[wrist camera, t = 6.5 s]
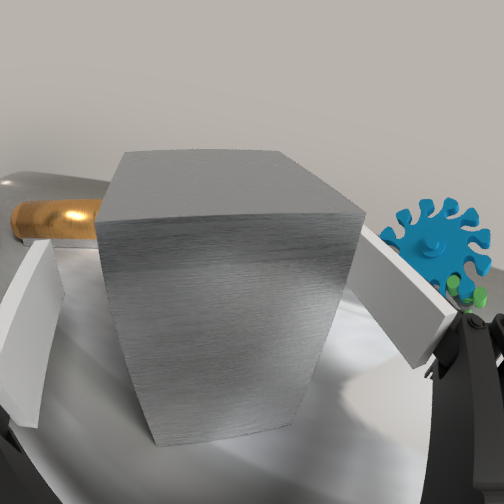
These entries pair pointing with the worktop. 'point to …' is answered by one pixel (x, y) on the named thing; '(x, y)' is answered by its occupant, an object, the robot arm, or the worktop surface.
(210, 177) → the brushed metal block
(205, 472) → the worktop surface
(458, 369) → the robot arm
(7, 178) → the worktop surface
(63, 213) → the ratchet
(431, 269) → the gear
